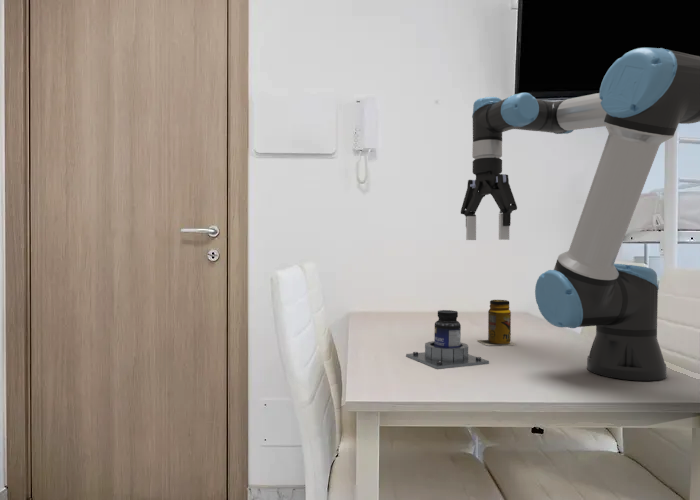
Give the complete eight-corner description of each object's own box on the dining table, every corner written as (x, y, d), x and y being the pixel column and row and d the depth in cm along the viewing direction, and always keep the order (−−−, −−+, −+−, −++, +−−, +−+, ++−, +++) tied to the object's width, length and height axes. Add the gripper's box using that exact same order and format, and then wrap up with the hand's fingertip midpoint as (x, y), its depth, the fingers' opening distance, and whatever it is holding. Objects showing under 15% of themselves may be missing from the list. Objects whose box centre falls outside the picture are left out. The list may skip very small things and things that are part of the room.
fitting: (489, 363, 120) (489, 348, 120) (437, 369, 115) (437, 352, 115) (454, 352, 133) (454, 337, 133) (406, 356, 128) (406, 341, 128)
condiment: (516, 345, 143) (516, 301, 142) (486, 346, 141) (487, 302, 141) (504, 340, 150) (505, 298, 150) (476, 341, 149) (476, 299, 148)
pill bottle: (429, 356, 125) (429, 310, 125) (450, 354, 128) (450, 309, 127) (444, 361, 119) (444, 313, 119) (465, 359, 122) (466, 312, 122)
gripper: (532, 152, 126) (531, 239, 127) (470, 166, 149) (470, 240, 150) (507, 149, 124) (507, 239, 124) (448, 164, 146) (447, 240, 147)
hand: (486, 240), depth 137 cm, fingers open, 13 cm apart
